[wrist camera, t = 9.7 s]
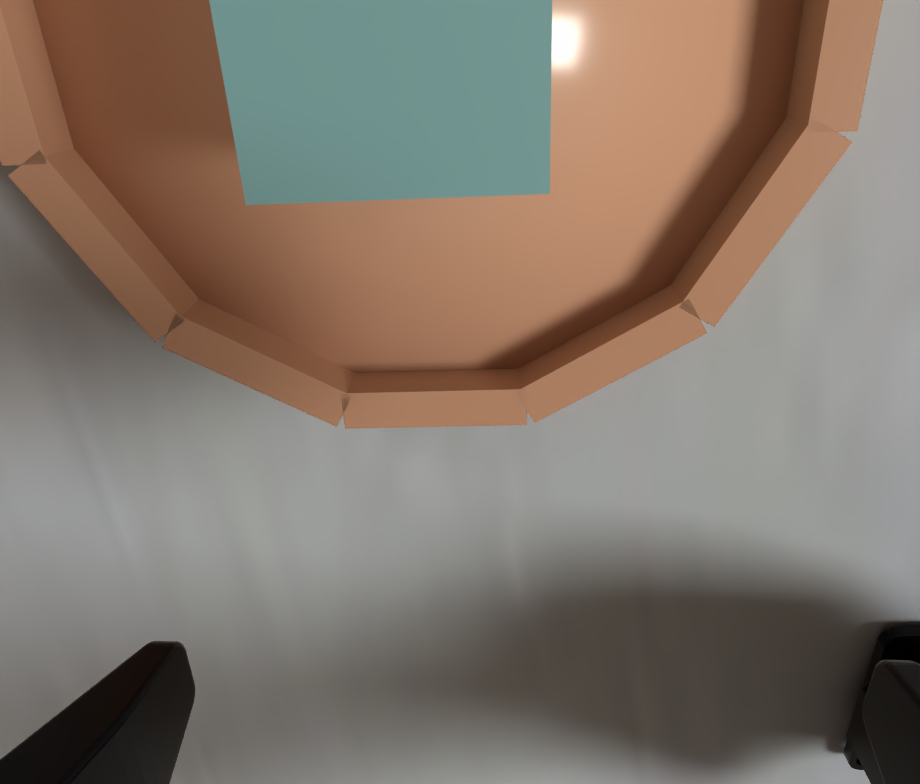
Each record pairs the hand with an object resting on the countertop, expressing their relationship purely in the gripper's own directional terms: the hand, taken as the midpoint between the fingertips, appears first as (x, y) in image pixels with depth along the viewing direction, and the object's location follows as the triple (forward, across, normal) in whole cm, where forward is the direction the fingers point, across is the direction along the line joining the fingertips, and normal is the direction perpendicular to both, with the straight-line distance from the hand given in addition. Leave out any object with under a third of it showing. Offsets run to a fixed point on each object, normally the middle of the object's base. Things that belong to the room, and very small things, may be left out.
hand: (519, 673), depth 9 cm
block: (+10, +2, -8) cm, 13 cm away
